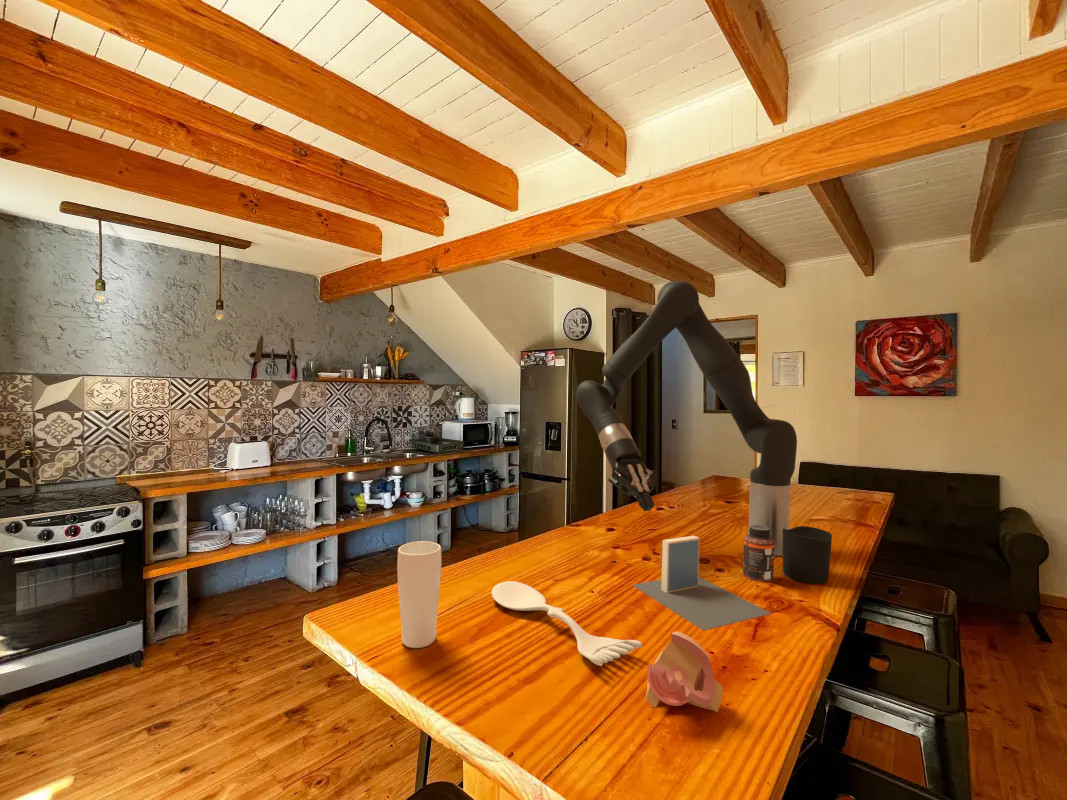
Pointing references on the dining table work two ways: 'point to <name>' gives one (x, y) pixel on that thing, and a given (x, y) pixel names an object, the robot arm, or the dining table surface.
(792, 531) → the pen holder
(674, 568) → the tile
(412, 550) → the drinking glass
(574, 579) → the dining table surface
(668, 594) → the mat
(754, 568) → the supplement bottle
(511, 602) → the spoon
